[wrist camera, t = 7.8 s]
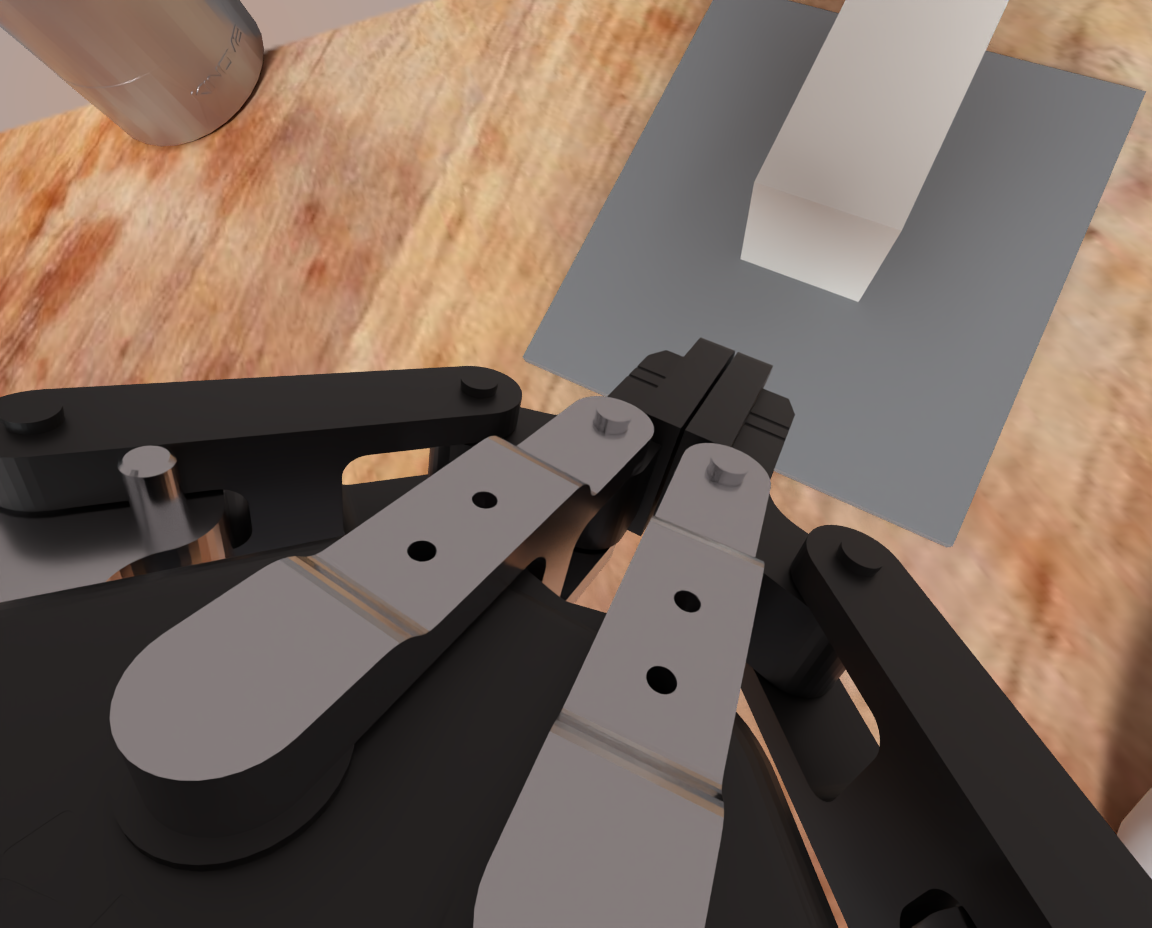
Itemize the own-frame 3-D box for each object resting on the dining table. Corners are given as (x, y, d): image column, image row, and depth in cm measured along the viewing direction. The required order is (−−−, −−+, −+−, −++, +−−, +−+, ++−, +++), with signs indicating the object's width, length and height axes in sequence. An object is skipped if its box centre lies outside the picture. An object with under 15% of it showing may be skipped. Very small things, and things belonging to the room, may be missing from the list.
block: (754, 182, 21) (893, -96, 23) (740, 259, 26) (855, 27, 27) (901, 230, 20) (1039, -65, 21) (858, 301, 25) (972, 57, 26)
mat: (525, 361, 27) (522, 357, 27) (721, -7, 29) (721, -17, 29) (946, 547, 23) (952, 546, 22) (1137, 101, 25) (1145, 91, 25)
